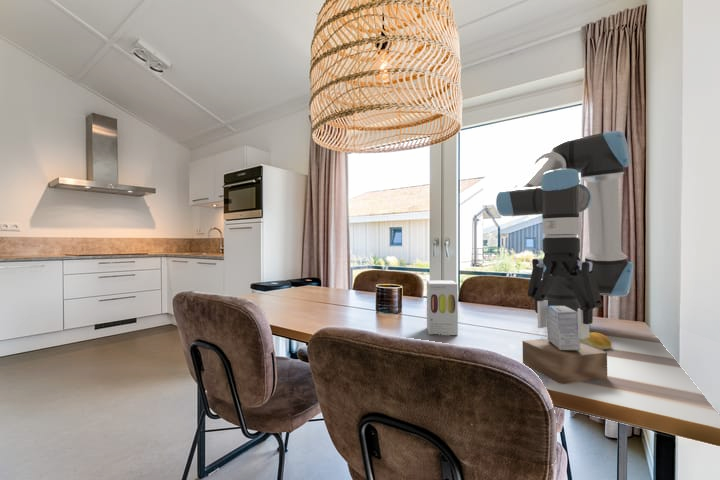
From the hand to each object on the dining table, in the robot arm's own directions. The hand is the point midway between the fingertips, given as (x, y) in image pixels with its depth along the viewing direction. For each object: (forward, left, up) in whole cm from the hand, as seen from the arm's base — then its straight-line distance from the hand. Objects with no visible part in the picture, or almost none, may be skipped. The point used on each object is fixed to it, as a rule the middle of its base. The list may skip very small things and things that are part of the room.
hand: (562, 332), depth 79 cm
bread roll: (-23, -8, -9) cm, 27 cm away
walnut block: (0, 0, -9) cm, 9 cm away
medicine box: (0, 0, -3) cm, 3 cm away
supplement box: (+5, -39, -9) cm, 40 cm away
